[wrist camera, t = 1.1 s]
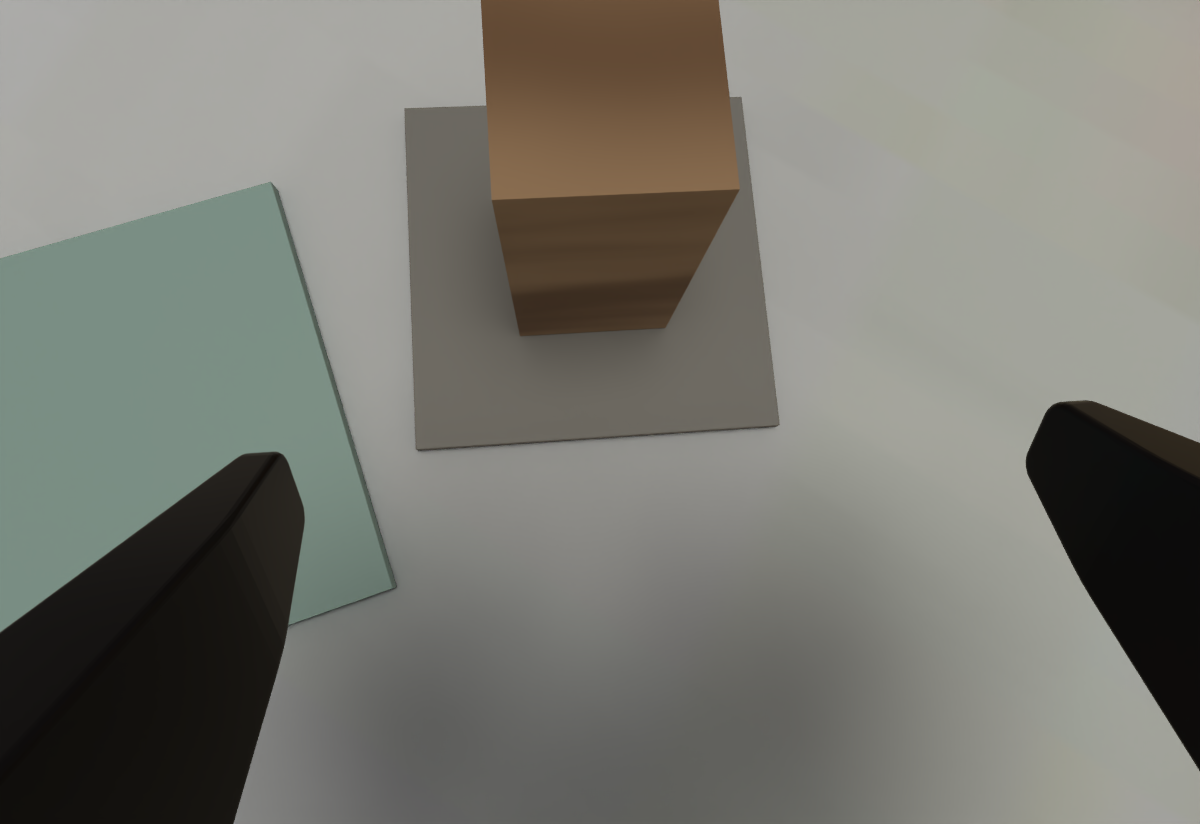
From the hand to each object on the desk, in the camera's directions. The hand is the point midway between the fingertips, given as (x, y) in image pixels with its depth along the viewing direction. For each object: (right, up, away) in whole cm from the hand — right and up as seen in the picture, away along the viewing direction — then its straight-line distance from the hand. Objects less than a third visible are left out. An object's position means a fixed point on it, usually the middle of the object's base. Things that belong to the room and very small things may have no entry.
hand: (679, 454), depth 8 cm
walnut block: (-1, +5, +13) cm, 15 cm away
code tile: (-1, +5, +14) cm, 15 cm away
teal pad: (-15, -1, +12) cm, 19 cm away
